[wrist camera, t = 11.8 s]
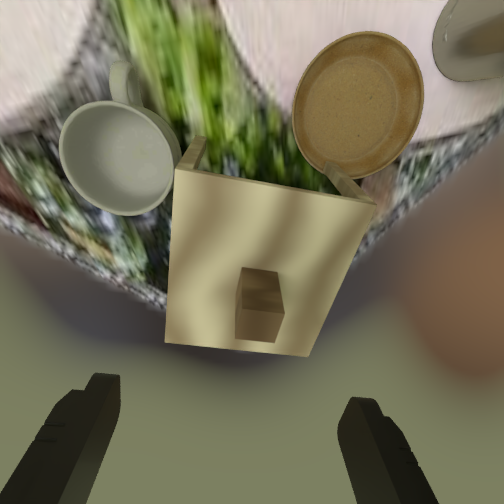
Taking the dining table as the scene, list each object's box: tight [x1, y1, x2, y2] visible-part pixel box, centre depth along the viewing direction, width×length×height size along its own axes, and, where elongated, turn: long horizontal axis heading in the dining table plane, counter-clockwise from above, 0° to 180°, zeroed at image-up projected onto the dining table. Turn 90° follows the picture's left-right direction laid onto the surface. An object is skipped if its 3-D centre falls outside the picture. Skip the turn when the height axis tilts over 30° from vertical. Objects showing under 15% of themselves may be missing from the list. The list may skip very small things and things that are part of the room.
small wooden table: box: [165, 135, 377, 357], centre depth 31 cm, size 16×19×18 cm
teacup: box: [59, 61, 182, 216], centre depth 31 cm, size 14×11×8 cm
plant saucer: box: [292, 31, 424, 179], centre depth 34 cm, size 15×15×3 cm
